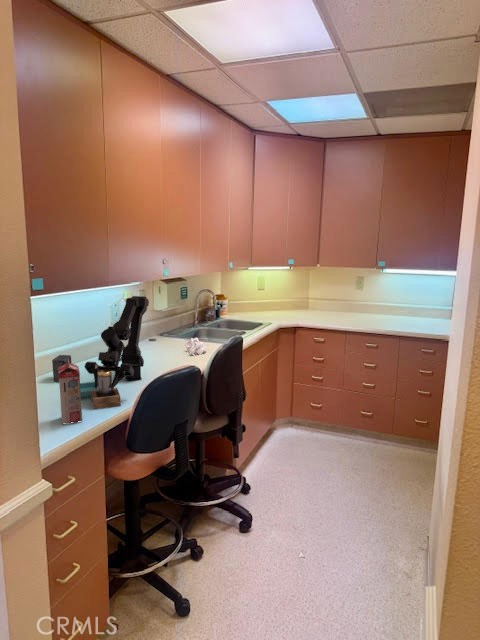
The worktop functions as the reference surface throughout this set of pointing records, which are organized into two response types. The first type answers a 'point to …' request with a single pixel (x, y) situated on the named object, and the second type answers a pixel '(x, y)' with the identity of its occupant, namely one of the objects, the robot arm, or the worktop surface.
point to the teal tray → (87, 389)
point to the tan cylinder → (105, 382)
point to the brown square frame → (105, 399)
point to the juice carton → (70, 393)
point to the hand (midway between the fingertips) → (103, 388)
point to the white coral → (195, 346)
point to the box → (59, 365)
